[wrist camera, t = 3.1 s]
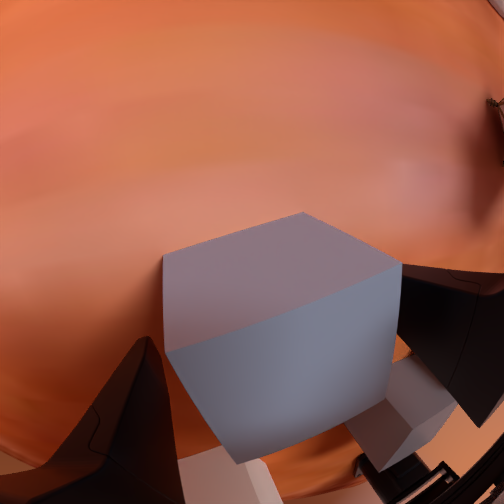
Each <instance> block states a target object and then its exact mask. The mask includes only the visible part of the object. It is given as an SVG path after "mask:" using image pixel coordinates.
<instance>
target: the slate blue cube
mask: <svg viewBox="0 0 504 504" xmlns="http://www.w3.org/2000/svg"><path fill="white" fill-rule="evenodd" d="M401 279H402V262H400V261H398V260H397V259H395V258H393V257H391V256H389V255H387V254H385V253H384V252H382V251H380V250H378V249H376V248H374V247H372V246H370V245H368V244H366V243H365V242H363V241H361V240H359V239H357V238H355V237H353V236H351V235H349V234H347V233H345V232H343V231H341V230H339V229H337V228H335V227H333V226H331V225H329V224H327V223H325V222H323V221H321V220H318V219H316V218H314V217H312V216H310V215H308V214H306V213H304V212H302V213H298V214H295V215H292V216H288V217H285V218H281V219H278V220H275V221H271V222H268V223H265V224H261V225H258V226H255V227H251V228H248V229H245V230H241V231H238V232H235V233H232V234H228V235H225V236H222V237H219V238H215V239H212V240H209V241H206V242H203V243H199V244H196V245H193V246H190V247H187V248H184V249H181V250H177V251H174V252H171V253H168V254H165V255H163V322H164V346H165V354H166V356H167V358H168V359H169V361H170V363H171V365H172V367H173V368H174V370H175V372H176V374H177V376H178V377H179V379H180V381H181V382H182V384H183V386H184V387H185V389H186V391H187V392H188V394H189V396H190V397H191V399H192V401H193V402H194V404H195V405H196V407H197V409H198V410H199V412H200V413H201V415H202V416H203V418H204V419H205V421H206V422H207V424H208V425H209V427H210V428H211V430H212V431H213V433H214V434H215V436H216V437H217V438H218V440H219V441H220V443H221V444H222V446H223V447H224V448H225V450H226V451H227V452H228V454H229V455H230V456H231V458H232V459H233V460H234V462H235V463H236V464H237V465H238V464H241V463H244V462H248V461H251V460H254V459H257V458H260V457H263V456H266V455H269V454H272V453H274V452H277V451H280V450H282V449H285V448H288V447H290V446H293V445H295V444H297V443H300V442H302V441H305V440H307V439H309V438H312V437H314V436H316V435H318V434H320V433H323V432H325V431H327V430H329V429H331V428H333V427H335V426H337V425H339V424H341V423H343V422H345V421H347V420H349V419H351V418H353V417H354V416H356V415H358V414H360V413H362V412H363V411H365V410H367V409H369V408H370V407H372V406H374V405H376V404H377V403H379V402H381V401H382V400H384V399H385V395H386V390H387V386H388V381H389V376H390V371H391V365H392V359H393V353H394V347H395V340H396V333H397V324H398V316H399V306H400V294H401Z"/></svg>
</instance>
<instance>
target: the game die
mask: <svg viewBox="0 0 504 504" xmlns="http://www.w3.org/2000/svg"><path fill="white" fill-rule="evenodd" d="M486 100H487V101H488V102H489V104H490V106H491V105H492V106H493V107H497V108H498V112H499V116H500V120H501V124H502V128H503V133H504V98H503V99H502V100H501V101H500V102H499V103H497V102H496V101H495V100H493V99H492V98H491V99H486ZM502 167H504V160H503V164H502Z"/></svg>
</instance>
